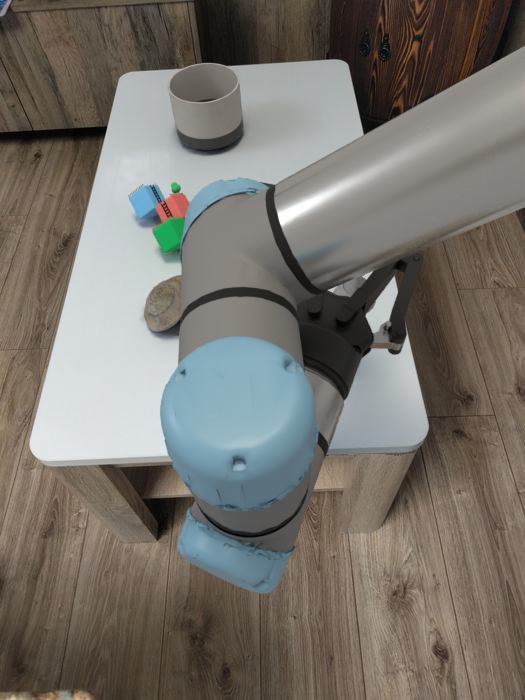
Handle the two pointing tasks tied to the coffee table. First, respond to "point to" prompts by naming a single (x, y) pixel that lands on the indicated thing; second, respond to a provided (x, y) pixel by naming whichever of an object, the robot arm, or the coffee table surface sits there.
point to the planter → (206, 105)
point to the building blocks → (162, 213)
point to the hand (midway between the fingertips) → (379, 200)
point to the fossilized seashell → (164, 305)
